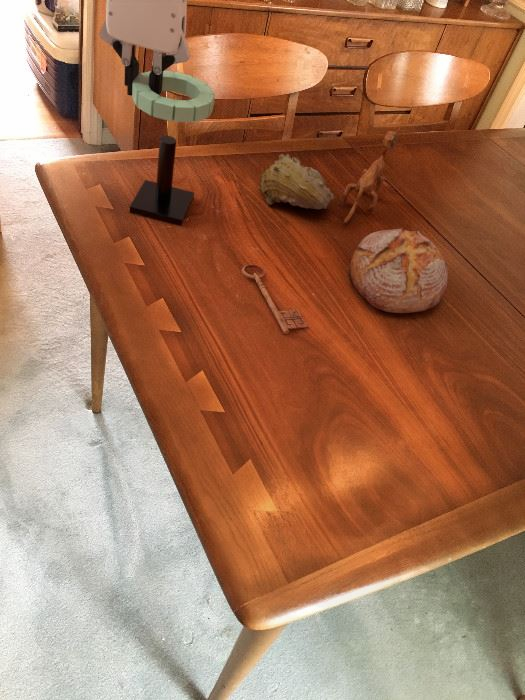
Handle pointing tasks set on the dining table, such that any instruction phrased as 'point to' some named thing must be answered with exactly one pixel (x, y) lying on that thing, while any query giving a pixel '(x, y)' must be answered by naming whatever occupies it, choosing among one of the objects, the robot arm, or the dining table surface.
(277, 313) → the key
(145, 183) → the post
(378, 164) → the dinosaur figurine
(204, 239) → the dining table surface
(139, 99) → the ring
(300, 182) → the seashell
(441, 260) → the bread
